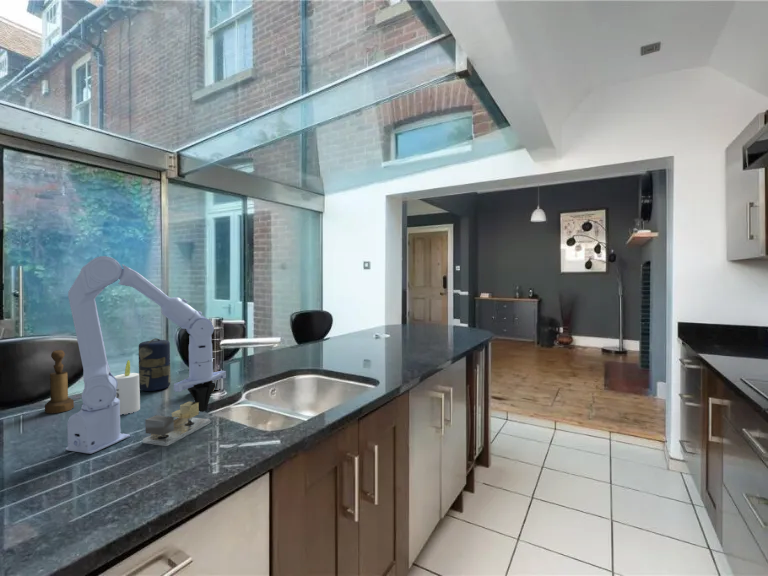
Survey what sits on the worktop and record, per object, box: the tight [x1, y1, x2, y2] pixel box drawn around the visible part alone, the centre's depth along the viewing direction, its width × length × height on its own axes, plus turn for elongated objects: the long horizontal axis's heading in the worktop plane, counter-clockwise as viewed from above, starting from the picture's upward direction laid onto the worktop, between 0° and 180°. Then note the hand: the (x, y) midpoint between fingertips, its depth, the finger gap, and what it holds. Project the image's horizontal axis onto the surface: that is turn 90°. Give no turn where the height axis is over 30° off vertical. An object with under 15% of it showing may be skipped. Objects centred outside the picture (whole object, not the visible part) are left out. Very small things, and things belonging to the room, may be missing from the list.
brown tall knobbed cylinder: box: [44, 349, 75, 414], centre depth 110 cm, size 7×6×18 cm
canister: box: [138, 337, 172, 392], centre depth 130 cm, size 10×10×18 cm
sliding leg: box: [171, 401, 200, 423], centre depth 96 cm, size 3×6×5 cm, turn 75°
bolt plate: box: [142, 417, 211, 447], centre depth 93 cm, size 14×7×1 cm, turn 165°
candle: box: [113, 359, 141, 416], centre depth 108 cm, size 6×6×15 cm
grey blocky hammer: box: [144, 414, 188, 437], centre depth 92 cm, size 12×5×4 cm, turn 165°
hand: (202, 410), depth 100 cm, fingers closed
